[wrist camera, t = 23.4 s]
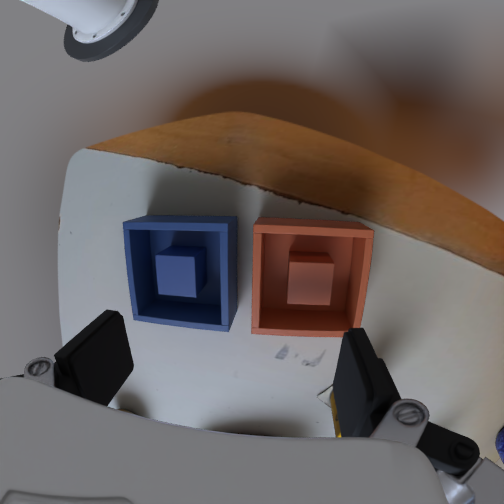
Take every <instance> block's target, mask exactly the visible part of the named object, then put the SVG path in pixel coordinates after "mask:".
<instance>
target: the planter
mask: <svg viewBox="0 0 504 504" xmlns="http://www.w3.org/2000/svg"><path fill="white" fill-rule="evenodd" d="M495 446H496V449H497V452H498V454H499V456H500V458H501V460H502V462H503V463H504V427H503V428H502V430H501V431H500V432H499V434H498V435H497V438H496V442H495Z"/></svg>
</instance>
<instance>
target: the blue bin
mask: <svg viewBox="0 0 504 504" xmlns="http://www.w3.org/2000/svg"><path fill="white" fill-rule="evenodd" d="M123 229H124V244H125V256H126V266H127V275H128V283H129V291H130V298H131V305H132V312H133V318H134V320H137V321H143V322H150V323H156V324H163V325H171V326H178V327H186V328H195V329H204V330H214V331H224V332H229V330H230V328H231V325H232V322H233V320H234V317H235V314H236V312H237V216H174V215H146V216H142V217H139V218H135V219H132V220H128V221H125V222H123ZM169 246H193V247H206V264H207V284H206V285H205V287H204V288H203V289H202V291H201V292H200V293H199V295H198V296H197V297H196V298H195V297H184V296H174V295H164V294H158V284H157V273H156V260H155V255H156V254H157V253H159V252H161V251H163V250H164V249H166V248H168V247H169Z"/></svg>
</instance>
